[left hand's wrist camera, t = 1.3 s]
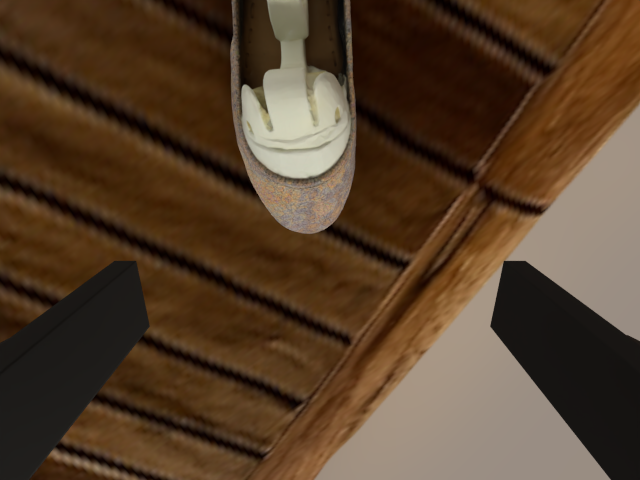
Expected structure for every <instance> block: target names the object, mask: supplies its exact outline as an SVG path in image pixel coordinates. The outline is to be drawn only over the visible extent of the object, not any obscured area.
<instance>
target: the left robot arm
mask: <svg viewBox="0 0 640 480" xmlns="http://www.w3.org/2000/svg"><path fill="white" fill-rule="evenodd" d="M149 327H150V326H149V321H148V316H147V311H146V306H145V302H144V297H143V292H142V287H141V282H140V277H139V273H138V268H137V263H136V261H114V262H113V263H111V264H110V265H109V266H107V267H106V268H104V269H103V270H102V271H100V272H99V273H98V274H96V275H95V276H94V277H92V278H91V279H89V280H88V281H87V282H85V283H84V284H83V285H81V286H80V287H79V288H77V289H76V290H75V291H73V292H72V293H70V294H69V295H68V296H66V297H65V298H64V299H62V300H61V301H60V302H58V303H57V304H56V305H54V306H53V307H51V308H50V309H49V310H47V311H46V312H45V313H43V314H42V315H41V316H39V317H38V318H37V319H35V320H34V321H32V322H31V323H30V324H28V325H27V326H26V327H24V328H23V329H22V330H20V331H19V332H17V333H16V334H15V335H13V336H12V337H11V338H9V339H7V340H5V341H3V342H1V343H0V480H29V479H30V478H31V477H32V475H33V474H34V473H35V472H36V470H37V469H38V468H39V466H40V465H41V464H42V463H43V461H44V460H45V459H46V458H47V456H48V455H49V454H50V452H51V451H52V450H53V449H54V447H55V446H56V445H57V444H58V442H59V441H60V440H61V438H62V437H63V436H64V435H65V433H66V432H67V431H68V430H69V428H70V427H71V426H72V424H73V423H74V422H75V421H76V419H77V418H78V417H79V416H80V414H81V413H82V412H83V410H84V409H85V408H86V407H87V405H88V404H89V403H90V402H91V400H92V399H93V398H94V396H95V395H96V394H97V393H98V391H99V390H100V389H101V388H102V386H103V385H104V384H105V383H106V381H107V380H108V379H109V377H110V376H111V375H112V374H113V372H114V371H115V370H116V369H117V367H118V366H119V365H120V363H121V362H122V361H123V360H124V358H125V357H126V356H127V355H128V353H129V352H130V351H131V349H132V348H133V347H134V346H135V344H136V343H137V342H138V341H139V339H140V338H141V337H142V335H143V334H144V333H145V332H146V330H147V329H148V328H149ZM491 328H492V329H493V330H494V332H495V333H496V334H497V335H498V337H499V338H500V339H501V341H502V342H503V343H504V344H505V346H506V347H507V348H508V349H509V351H510V352H511V353H512V355H513V356H514V357H515V358H516V360H517V361H518V362H519V363H520V365H521V366H522V367H523V369H524V370H525V371H526V372H527V374H528V375H529V376H530V377H531V379H532V380H533V381H534V382H535V384H536V385H537V386H538V388H539V389H540V390H541V391H542V393H543V394H544V395H545V396H546V398H547V399H548V400H549V402H550V403H551V404H552V405H553V407H554V408H555V409H556V410H557V412H558V413H559V414H560V416H561V417H562V418H563V419H564V421H565V422H566V423H567V424H568V426H569V427H570V428H571V430H572V431H573V432H574V433H575V435H576V436H577V437H578V438H579V440H580V441H581V442H582V444H583V445H584V446H585V447H586V449H587V450H588V451H589V452H590V454H591V455H592V456H593V457H594V459H595V460H596V461H597V463H598V464H599V465H600V466H601V468H602V469H603V470H604V471H605V473H606V474H607V475H608V477H609V478H610V479H611V480H640V341H638V340H636V339H634V338H632V337H630V336H628V335H625V334H624V333H623V332H621V331H620V330H618V329H617V328H616V327H614V326H613V325H612V324H610V323H609V322H608V321H606V320H605V319H603V318H602V317H601V316H599V315H598V314H597V313H595V312H594V311H593V310H591V309H590V308H589V307H587V306H586V305H584V304H583V303H582V302H580V301H579V300H578V299H576V298H575V297H573V296H572V295H571V294H570V293H568V292H567V291H565V290H564V289H563V288H561V287H560V286H559V285H557V284H556V283H555V282H553V281H552V280H550V279H549V278H548V277H546V276H545V275H544V274H542V273H541V272H540V271H538V270H537V269H536V268H534V267H533V266H531V265H530V264H529V263H527V262H526V261H504V263H503V268H502V273H501V278H500V282H499V287H498V292H497V297H496V302H495V306H494V311H493V316H492V321H491Z"/></svg>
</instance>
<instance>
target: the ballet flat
mask: <svg viewBox="0 0 640 480" xmlns="http://www.w3.org/2000/svg"><path fill="white" fill-rule="evenodd" d="M232 11H233V40H232V43H231V53H230V55H231V97H232V111H233V120H234V126H235V131H236V137H237V143H238V147H239V149H240V152H241V155H242V157H243V160H244V163H245V166H246V170H247V172H248V175H249V178H250V180H251V182H252V184H253V186H254V188H255V190H256V192H257V193H258V195H259V197H260V199H261V200H262V202H263V203H264V205H265V206H266V208H267V209H268V210H269V212H270V213H271V215H272V216H273V217H274V218H275V219H276V220H277V221H278V222H279V223H280V224H281V225H282V226H284V227H286V228H287V229H289V230H292V231H296V232H300V233H308V234H311V233H316V232H319V231H321V230H324V229H325V228H327V227H328V226H330V225H331V224H332V223H333V222H334V221H335V220H336V219H337V218H338V216H339V214H340V213H341V211H342V209H343V207H344V204H345V202H346V200H347V197H348V194H349V192H350V188H351V184H352V180H353V175H354V169H355V147H356V107H355V92H354V85H353V70H352V68H353V62H352V58H353V57H352V35H351V15H350V0H232Z"/></svg>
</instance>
